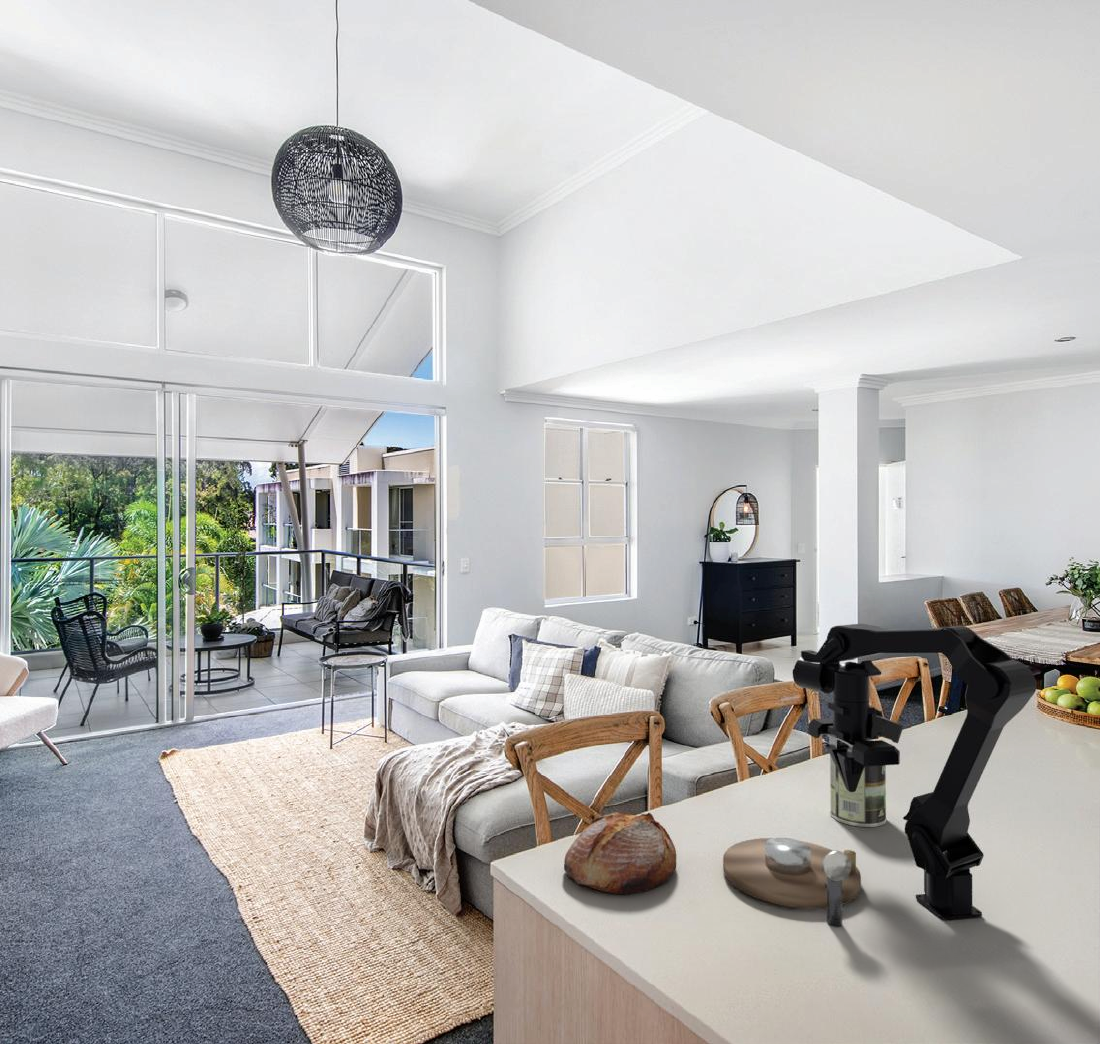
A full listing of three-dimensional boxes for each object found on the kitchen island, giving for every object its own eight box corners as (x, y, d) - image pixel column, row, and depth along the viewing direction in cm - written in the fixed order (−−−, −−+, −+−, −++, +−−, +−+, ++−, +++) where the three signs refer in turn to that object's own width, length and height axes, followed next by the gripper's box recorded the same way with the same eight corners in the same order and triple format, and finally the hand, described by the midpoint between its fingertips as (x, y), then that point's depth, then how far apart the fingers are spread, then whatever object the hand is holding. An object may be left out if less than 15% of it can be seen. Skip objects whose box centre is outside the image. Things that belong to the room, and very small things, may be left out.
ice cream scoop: (851, 926, 105) (851, 852, 105) (825, 928, 105) (824, 853, 105) (839, 914, 108) (839, 842, 108) (814, 917, 108) (813, 844, 108)
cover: (812, 878, 115) (812, 858, 115) (765, 872, 117) (765, 853, 117) (809, 858, 122) (809, 840, 122) (764, 853, 124) (765, 835, 124)
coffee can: (879, 809, 149) (879, 739, 149) (892, 830, 139) (892, 754, 139) (825, 805, 151) (825, 736, 151) (834, 825, 141) (834, 751, 141)
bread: (698, 879, 122) (702, 819, 121) (610, 917, 110) (613, 851, 109) (629, 839, 135) (632, 785, 134) (543, 870, 123) (545, 810, 122)
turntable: (872, 916, 107) (872, 884, 107) (722, 899, 112) (722, 869, 112) (849, 853, 127) (849, 827, 127) (723, 841, 132) (723, 816, 132)
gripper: (930, 710, 117) (931, 809, 117) (863, 685, 136) (864, 771, 136) (865, 713, 116) (865, 813, 116) (806, 687, 134) (807, 774, 134)
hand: (851, 791), depth 125 cm, fingers closed
